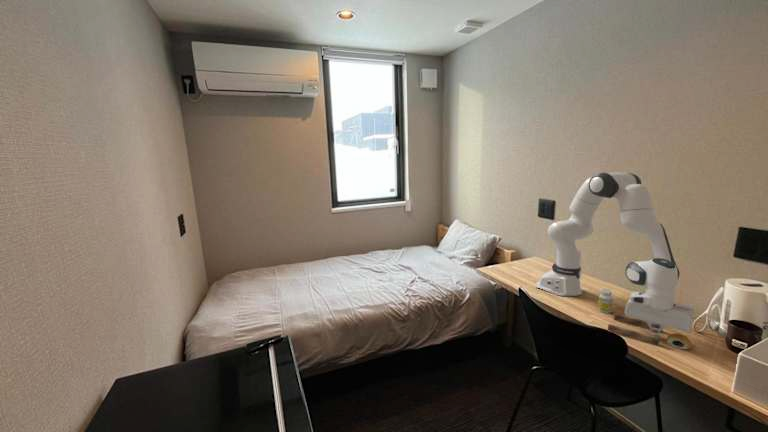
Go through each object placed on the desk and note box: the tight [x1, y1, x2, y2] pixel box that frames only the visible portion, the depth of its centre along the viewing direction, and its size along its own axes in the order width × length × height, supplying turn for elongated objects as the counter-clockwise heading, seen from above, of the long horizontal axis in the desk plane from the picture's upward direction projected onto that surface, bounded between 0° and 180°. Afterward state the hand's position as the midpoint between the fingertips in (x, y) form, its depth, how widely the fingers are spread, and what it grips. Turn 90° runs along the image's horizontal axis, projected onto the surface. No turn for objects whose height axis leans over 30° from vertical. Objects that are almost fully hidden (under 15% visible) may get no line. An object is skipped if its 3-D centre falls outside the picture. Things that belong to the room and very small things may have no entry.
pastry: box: [666, 333, 692, 351], centre depth 120 cm, size 9×7×4 cm
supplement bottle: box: [597, 288, 614, 314], centre depth 147 cm, size 5×5×10 cm
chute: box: [607, 312, 664, 347], centre depth 130 cm, size 16×14×4 cm
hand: (654, 333), depth 126 cm, fingers closed
